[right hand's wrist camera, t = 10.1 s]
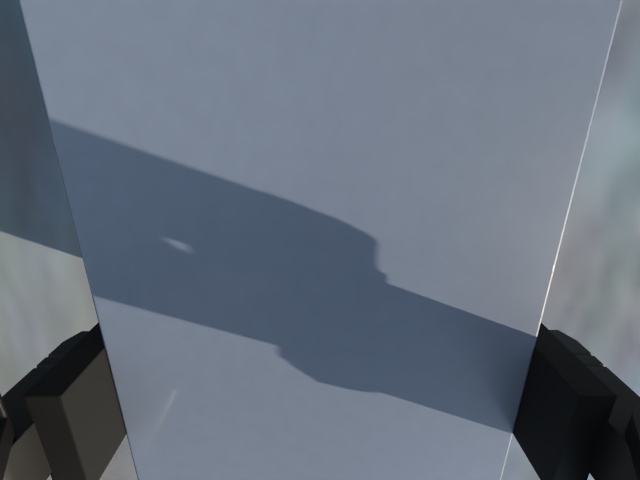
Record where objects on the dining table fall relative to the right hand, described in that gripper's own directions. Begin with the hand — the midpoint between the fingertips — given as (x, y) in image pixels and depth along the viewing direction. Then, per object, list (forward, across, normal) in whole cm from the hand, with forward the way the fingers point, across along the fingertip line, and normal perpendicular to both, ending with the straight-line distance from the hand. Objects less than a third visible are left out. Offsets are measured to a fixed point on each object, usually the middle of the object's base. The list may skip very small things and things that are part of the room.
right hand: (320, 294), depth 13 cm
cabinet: (+5, 0, -6) cm, 8 cm away
